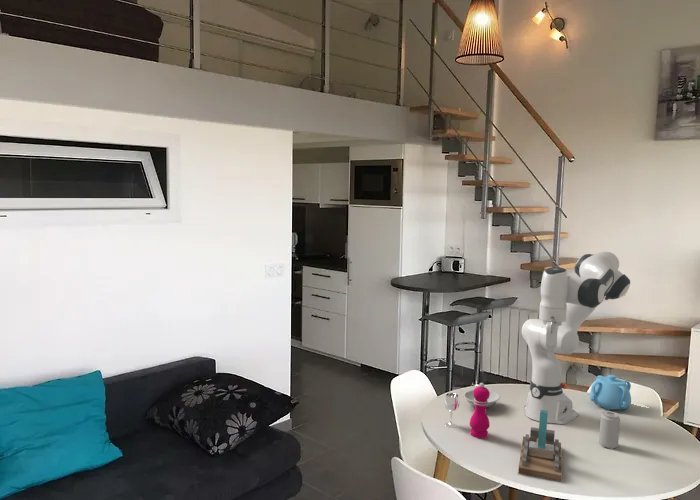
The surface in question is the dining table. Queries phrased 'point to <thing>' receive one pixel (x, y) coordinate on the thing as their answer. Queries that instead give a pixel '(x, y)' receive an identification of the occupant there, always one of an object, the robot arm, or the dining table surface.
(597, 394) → the decorative pot
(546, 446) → the track slider block
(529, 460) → the tray
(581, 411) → the dining table surface
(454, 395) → the wineglass
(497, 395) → the dish
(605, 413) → the beverage can
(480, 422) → the pepper mill
